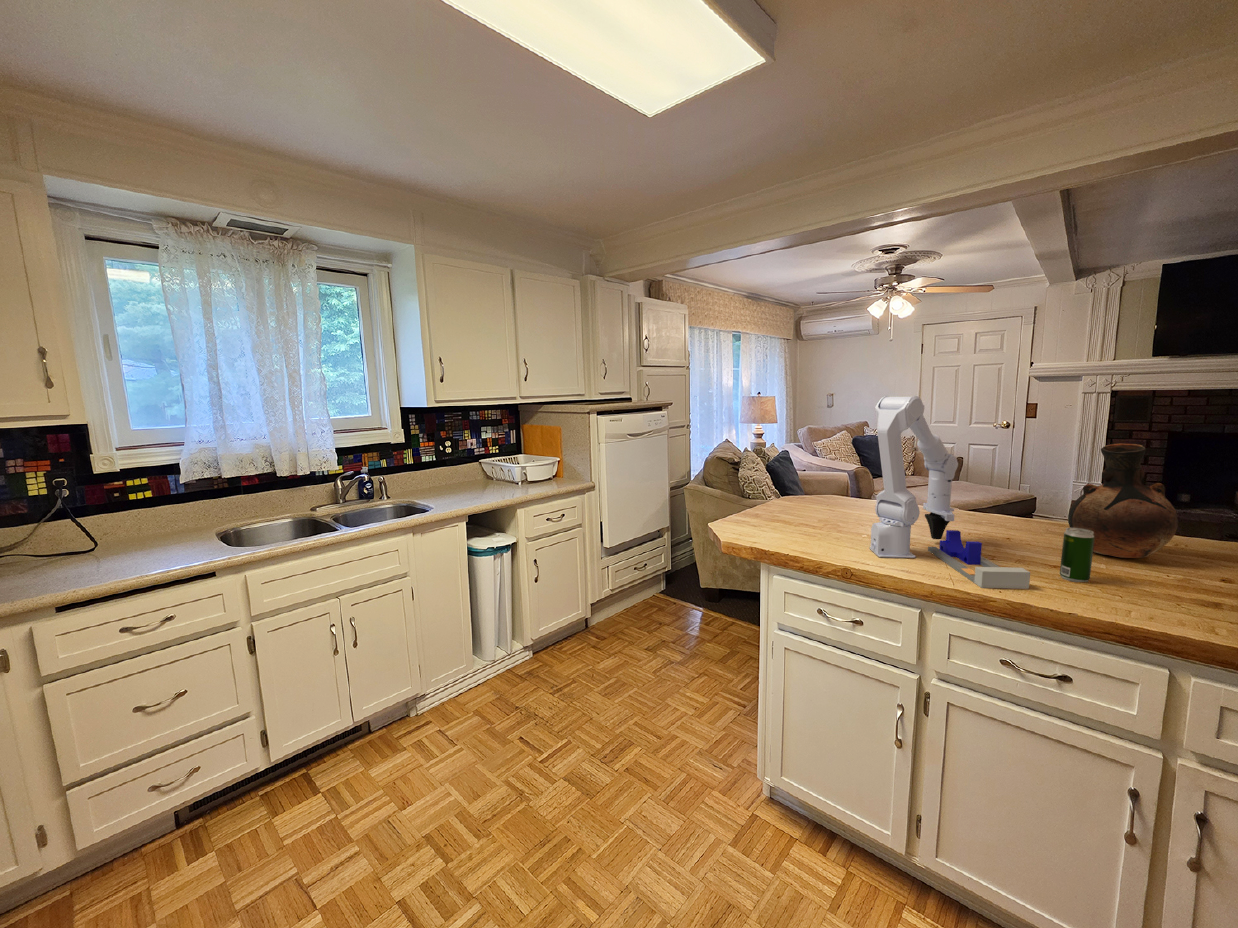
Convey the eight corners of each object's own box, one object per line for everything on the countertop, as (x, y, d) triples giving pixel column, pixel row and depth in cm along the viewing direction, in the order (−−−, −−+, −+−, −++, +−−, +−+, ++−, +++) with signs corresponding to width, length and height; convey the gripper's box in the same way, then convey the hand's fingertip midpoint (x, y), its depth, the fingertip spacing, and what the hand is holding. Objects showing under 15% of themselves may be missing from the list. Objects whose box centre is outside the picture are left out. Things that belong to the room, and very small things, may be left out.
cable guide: (981, 587, 117) (982, 571, 116) (927, 550, 143) (928, 537, 143) (1028, 588, 116) (1030, 572, 115) (966, 551, 142) (967, 537, 141)
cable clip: (939, 550, 144) (940, 530, 143) (956, 550, 143) (957, 530, 142) (961, 565, 132) (963, 543, 131) (980, 565, 132) (981, 543, 131)
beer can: (1078, 584, 117) (1083, 534, 115) (1053, 576, 122) (1058, 528, 121) (1095, 581, 118) (1101, 532, 117) (1070, 573, 124) (1075, 526, 122)
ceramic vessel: (1156, 551, 137) (1171, 442, 133) (1187, 572, 122) (1205, 450, 118) (1056, 541, 148) (1067, 440, 143) (1073, 560, 132) (1086, 447, 128)
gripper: (967, 499, 139) (964, 546, 141) (941, 488, 153) (939, 531, 155) (939, 499, 140) (936, 546, 142) (917, 488, 154) (914, 531, 156)
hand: (936, 538), depth 149 cm, fingers closed
